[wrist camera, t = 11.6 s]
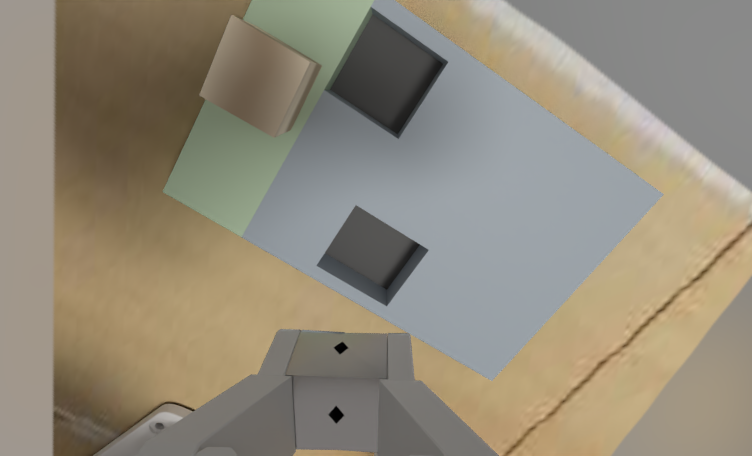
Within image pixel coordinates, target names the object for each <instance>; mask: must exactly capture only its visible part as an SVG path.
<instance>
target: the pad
mask: <svg viewBox="0 0 752 456" xmlns="http://www.w3.org/2000/svg"><path fill="white" fill-rule="evenodd" d="M373 2H374V0H252V1H251V3H250V5H249V8H248V10H247V12H246V14H245V16H244V18H243V20H244V21H247V22H249V23H251V24H253V25H256V26H257V27H259V28H261V29H262V30H264V31H266V32H267V33H269V34H271V35H272V36H274V37H276V38H277V39H279V40H281V41H282V42H284V43H286V44H287V45H289V46H291V47H292V48H294V49H296V50H297V51H299V52H301V53H302V54H304V55H306V56H307V57H309V58H311V59H312V60H314V61H316V62H317V63H319V64H321V65H322V68H321V70H320V72H319V74H318V76H317V78H316V80H315V82H314V84H313V86H312V88H311V90H310V92H309V94H308V96H307V98H306V100H305V102H304V104H303V106H302V108H301V111H300V113H299V115H298V117H297V119H296V121H295V123H294V125H293V127H292V129H291V130H290V131H288V132H286V133H283V134H281V135H279V136H277V137H275V138H273V137H272V136H270V135H268V134H266V133H265V132H263V131H261V130H259V129H257V128H256V127H254V126H252V125H250V124H249V123H247V122H245V121H243V120H242V119H240V118H238V117H236V116H234V115H233V114H231V113H229V112H227V111H226V110H224V109H222V108H220V107H218V106H217V105H215V104H213V103H211V102H210V101H208V100H205V102H204V104H203V106H202V108H201V111H200V113H199V115H198V117H197V119H196V121H195V123H194V126H193V128H192V130H191V132H190V134H189V136H188V138H187V141H186V143H185V145H184V147H183V149H182V151H181V153H180V156H179V158H178V160H177V162H176V164H175V166H174V168H173V171H172V173H171V175H170V177H169V179H168V181H167V183H166V186H165V188H164V190H163V192H164V193H165V194H167V195H169V196H171V197H172V198H174V199H176V200H177V201H179V202H181V203H183V204H184V205H186V206H188V207H190V208H191V209H193V210H195V211H197V212H198V213H200V214H202V215H204V216H205V217H207V218H209V219H211V220H212V221H214V222H216V223H218V224H219V225H221V226H223V227H225V228H226V229H228V230H230V231H232V232H233V233H235V234H237V235H238V236H240V237H242V236H243V234H244V232H245V230H246V228H247V227H248V225H249V223H250V221H251V219H252V218H253V216H254V214H255V212H256V211H257V209H258V207H259V205H260V203H261V202H262V200H263V198H264V196H265V195H266V193H267V191H268V189H269V187H270V186H271V184H272V182H273V180H274V178H275V177H276V175H277V173H278V171H279V170H280V168H281V166H282V164H283V162H284V161H285V159H286V157H287V155H288V153H289V152H290V150H291V148H292V146H293V145H294V143H295V141H296V139H297V137H298V136H299V134H300V132H301V130H302V128H303V127H304V125H305V123H306V121H307V120H308V118H309V116H310V114H311V112H312V111H313V109H314V107H315V105H316V104H317V102H318V100H319V98H320V96H321V95H322V93H323V91H324V90H330V89H331V87H332V85H333V83H334V82H335V80H336V78H337V76H338V74H339V73H340V71H341V69H342V67H343V66H344V64H345V62H346V60H347V59H348V57H349V55H350V53H351V51H352V50H353V48H354V46H355V44H356V43H357V41H358V39H359V37H360V36H361V34H362V32H363V30H364V28H365V27H366V25H367V23H368V21H369V20H370V18H371V16H372V10H371V5H372V4H373Z"/></svg>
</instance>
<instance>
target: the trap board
mask: <svg viewBox="0 0 752 456" xmlns="http://www.w3.org/2000/svg"><path fill="white" fill-rule="evenodd" d="M371 10H372V16H371V18H370V20H369V21H368V23H367V25H366V27H365V28H364V30H363V32H362V34H361V36H360V37H359V39H358V41H357V43H356V44H355V46H354V48H353V50H352V51H351V53H350V55H349V57H348V59H347V60H346V62H345V64H344V66H343V67H342V69H341V71H340V73H339V74H338V76H337V78H336V80H335V82H334V83H333V85H332V87H331V89H330V90H324V91H323V93H322V95H321V96H320V98H319V100H318V102H317V104H316V105H315V107H314V109H313V111H312V112H311V114H310V116H309V118H308V120H307V121H306V123H305V125H304V127H303V128H302V130H301V132H300V134H299V136H298V137H297V139H296V141H295V143H294V145H293V146H292V148H291V150H290V152H289V153H288V155H287V157H286V159H285V161H284V162H283V164H282V166H281V168H280V170H279V171H278V173H277V175H276V177H275V178H274V180H273V182H272V184H271V186H270V187H269V189H268V191H267V193H266V195H265V196H264V198H263V200H262V202H261V203H260V205H259V207H258V209H257V211H256V212H255V214H254V216H253V218H252V219H251V221H250V223H249V225H248V227H247V228H246V230H245V232H244V234H243V236H242V238H244V239H245V240H247V241H249V242H251V243H252V244H254V245H256V246H258V247H259V248H261V249H263V250H265V251H266V252H268V253H270V254H272V255H273V256H275V257H277V258H279V259H280V260H282V261H284V262H285V263H287V264H289V265H291V266H292V267H294V268H296V269H298V270H299V271H301V272H303V273H305V274H306V275H308V276H310V277H312V278H313V279H315V280H317V281H319V282H320V283H322V284H324V285H326V286H327V287H329V288H331V289H333V290H334V291H336V292H338V293H340V294H341V295H343V296H345V297H347V298H348V299H350V300H352V301H353V302H355V303H357V304H359V305H360V306H362V307H364V308H366V309H367V310H369V311H371V312H373V313H374V314H376V315H378V316H380V317H381V318H383V319H385V320H387V321H388V322H390V323H392V324H394V325H395V326H397V327H399V328H401V329H402V330H404V331H406V332H408V333H409V334H411V335H413V336H414V337H416V338H418V339H420V340H421V341H423V342H425V343H427V344H428V345H430V346H432V347H434V348H435V349H437V350H439V351H441V352H442V353H444V354H446V355H448V356H449V357H451V358H453V359H455V360H456V361H458V362H460V363H462V364H463V365H465V366H467V367H469V368H470V369H472V370H474V371H475V372H477V373H479V374H481V375H482V376H484V377H486V378H488V379H489V380H491V381H492V380H493V379H494V378H495V377H496V376H497V375H498V374H499V373H500V372H501V371H502V369H503V368H504V367H505V366H506V365H507V364H508V363H509V362H510V361H511V360H512V359H513V358H514V356H515V355H516V354H517V353H518V352H519V351H520V350H521V349H522V348H523V347H524V346H525V345H526V343H527V342H528V341H529V340H530V339H531V338H532V337H533V336H534V335H535V334H536V333H537V331H538V330H539V329H540V328H541V327H542V326H543V325H544V324H545V323H546V322H547V321H548V320H549V318H550V317H551V316H552V315H553V314H554V313H555V312H556V311H557V310H558V309H559V308H560V306H561V305H562V304H563V303H564V302H565V301H566V300H567V299H568V298H569V297H570V296H571V295H572V293H573V292H574V291H575V290H576V289H577V288H578V287H579V286H580V285H581V284H582V283H583V281H584V280H585V279H586V278H587V277H588V276H589V275H590V274H591V273H592V272H593V271H594V270H595V268H596V267H597V266H598V265H599V264H600V263H601V262H602V261H603V260H604V259H605V258H606V256H607V255H608V254H609V253H610V252H611V251H612V250H613V249H614V248H615V247H616V246H617V245H618V243H619V242H620V241H621V240H622V239H623V238H624V237H625V236H626V235H627V234H628V233H629V231H630V230H631V229H632V228H633V227H634V226H635V225H636V224H637V223H638V222H639V221H640V220H641V218H642V217H643V216H644V215H645V214H646V213H647V212H648V211H649V210H650V209H651V208H652V207H653V205H654V204H655V203H656V202H657V201H658V200H659V199H660V198H661V197H662V196H663V195H664V194H663V193H661V192H660V191H658V190H657V189H656V188H654V187H653V186H651V185H650V184H649V183H647V182H646V181H645V180H643V179H642V178H640V177H639V176H638V175H636V174H635V173H633V172H632V171H631V170H629V169H628V168H626V167H625V166H624V165H622V164H621V163H620V162H618V161H617V160H615V159H614V158H613V157H611V156H610V155H608V154H607V153H606V152H604V151H603V150H602V149H600V148H599V147H597V146H596V145H595V144H593V143H592V142H590V141H589V140H588V139H586V138H585V137H583V136H582V135H581V134H579V133H578V132H577V131H575V130H574V129H572V128H571V127H570V126H568V125H567V124H565V123H564V122H563V121H561V120H560V119H559V118H557V117H556V116H554V115H553V114H552V113H550V112H549V111H547V110H546V109H545V108H543V107H542V106H540V105H539V104H538V103H536V102H535V101H534V100H532V99H531V98H529V97H528V96H527V95H525V94H524V93H522V92H521V91H520V90H518V89H517V88H516V87H514V86H513V85H511V84H510V83H509V82H507V81H506V80H504V79H503V78H502V77H500V76H499V75H497V74H496V73H495V72H493V71H492V70H491V69H489V68H488V67H486V66H485V65H484V64H482V63H481V62H479V61H478V60H477V59H475V58H474V57H473V56H471V55H470V54H468V53H467V52H466V51H464V50H463V49H461V48H460V47H459V46H457V45H456V44H454V43H453V42H452V41H450V40H449V39H448V38H446V37H445V36H443V35H442V34H441V33H439V32H438V31H436V30H435V29H434V28H432V27H431V26H430V25H428V24H427V23H425V22H424V21H423V20H421V19H420V18H418V17H417V16H416V15H414V14H413V13H411V12H410V11H409V10H407V9H406V8H405V7H403V6H402V5H400V4H399V3H398V2H396V1H395V0H374V2H373V4H372V5H371Z"/></svg>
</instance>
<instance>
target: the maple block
mask: <svg viewBox="0 0 752 456" xmlns="http://www.w3.org/2000/svg"><path fill="white" fill-rule="evenodd" d="M321 68H322V65H321V64H319V63H317V62H316V61H314V60H312V59H311V58H309V57H307V56H306V55H304V54H302V53H301V52H299V51H297V50H296V49H294V48H292V47H291V46H289V45H287V44H286V43H284V42H282V41H281V40H279V39H277V38H276V37H274V36H272V35H271V34H269V33H267V32H266V31H264V30H262V29H261V28H259V27H257V26H256V25H253V24H251V23H249V22H247V21H244V20H242V19H240V18H238V17H235V16H233V15H231V17H230V19H229V22H228V24H227V27H226V29H225V32H224V34H223V37H222V39H221V42H220V44H219V47H218V49H217V52H216V54H215V57H214V59H213V62H212V64H211V67H210V69H209V72H208V74H207V77H206V79H205V82H204V84H203V87H202V89H201V92H200V94H199V96H201V97H203V98H204V99H206V100H208V101H210V102H211V103H213V104H215V105H217V106H218V107H220V108H222V109H224V110H226V111H227V112H229V113H231V114H233V115H234V116H236V117H238V118H240V119H242V120H243V121H245V122H247V123H249V124H250V125H252V126H254V127H256V128H257V129H259V130H261V131H263V132H265V133H266V134H268V135H270V136H272V137H273V138H275V137H277V136H279V135H281V134H283V133H286V132H288V131H290V130H291V129H292V127H293V125H294V123H295V121H296V119H297V117H298V115H299V113H300V111H301V108H302V106H303V104H304V102H305V100H306V98H307V96H308V94H309V92H310V90H311V88H312V86H313V84H314V82H315V80H316V78H317V76H318V74H319V72H320V70H321Z"/></svg>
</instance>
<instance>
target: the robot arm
mask: <svg viewBox="0 0 752 456" xmlns="http://www.w3.org/2000/svg"><path fill="white" fill-rule="evenodd" d="M296 449H310V450H347V451H361V452H376V453H377V455H378V456H499V455H498V454H497V453H496V452H495V451H494V450H493V449H491V448H490V447H489V446H488V445H487V444H486V443H485V442H484V441H483V440H482V439H481V438H480V437H479V436H478V435H477V434H476V433H475V432H474V431H473V430H472V429H471V428H470V427H469V426H468V425H467V424H466V423H465V422H463V421H462V420H461V419H460V418H459V417H458V416H457V415H456V414H455V413H454V412H453V411H452V410H451V409H450V408H449V407H448V406H447V405H446V404H445V403H444V402H443V401H442V400H441V399H440V398H439V397H438V396H436V395H435V394H434V393H433V392H432V391H431V390H430V389H429V388H428V387H427V386H426V385H425V384H424V383H423V382H422V381H415V379H414V368H413V358H412V347H411V337H410V334H409V333H388V334H379V333H345V332H329V331H311V330H302V331H301V330H290V329H280V330H279V331H278V332H277V333H276V335H275V337H274V340H273V342H272V344H271V346H270V348H269V351H268V353H267V355H266V357H265V359H264V361H263V364H262V366H261V368H260V370H259V372H258V375H249V376H248V377H246V378H245V379H243V380H242V381H240V382H239V383H237V384H235V385H234V386H232V387H231V388H229V389H228V390H226V391H224V392H223V393H221V394H220V395H218V396H217V397H215V398H214V399H212V400H210V401H209V402H207V403H206V404H204V405H203V406H201V407H200V408H198V409H196V410H195V411H190V410H188V409H186V408H184V407H181V406H178V405H175V404H164V405H162V406H161V407H159V408H158V409H156V410H155V411H154V412H152V413H151V414H150V415H148V416H147V417H145V418H144V419H143V420H141V421H140V422H139V423H137V424H136V425H134V426H133V427H132V428H130V429H129V430H128V431H126V432H125V433H123V434H122V435H121V436H119V437H118V438H116V439H115V440H114V441H112V442H111V443H110V444H108V445H107V446H105V447H104V448H103V449H101V450H100V451H99V452H97V453H96V454H94V455H93V456H292V455H293V454H294V453H295V452H296Z"/></svg>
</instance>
